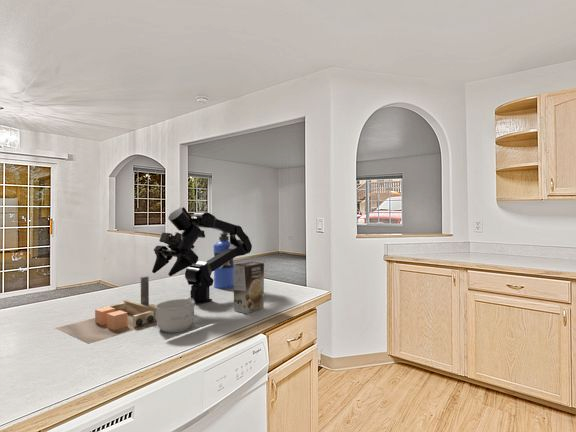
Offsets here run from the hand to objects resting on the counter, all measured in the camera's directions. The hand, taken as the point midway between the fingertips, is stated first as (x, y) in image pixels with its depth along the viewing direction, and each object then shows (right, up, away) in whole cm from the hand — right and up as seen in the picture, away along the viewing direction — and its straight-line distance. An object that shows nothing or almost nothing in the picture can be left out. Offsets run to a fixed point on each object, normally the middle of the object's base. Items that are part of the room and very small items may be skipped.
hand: (161, 273), depth 116 cm
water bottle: (+14, -13, +39) cm, 44 cm away
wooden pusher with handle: (-6, -12, -8) cm, 16 cm away
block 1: (-13, -13, -12) cm, 21 cm away
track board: (-7, -13, -10) cm, 18 cm away
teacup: (+11, -14, -15) cm, 23 cm away
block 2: (-7, -13, -16) cm, 21 cm away
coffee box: (+30, -13, +4) cm, 33 cm away
